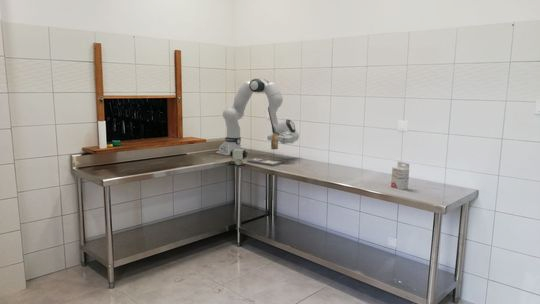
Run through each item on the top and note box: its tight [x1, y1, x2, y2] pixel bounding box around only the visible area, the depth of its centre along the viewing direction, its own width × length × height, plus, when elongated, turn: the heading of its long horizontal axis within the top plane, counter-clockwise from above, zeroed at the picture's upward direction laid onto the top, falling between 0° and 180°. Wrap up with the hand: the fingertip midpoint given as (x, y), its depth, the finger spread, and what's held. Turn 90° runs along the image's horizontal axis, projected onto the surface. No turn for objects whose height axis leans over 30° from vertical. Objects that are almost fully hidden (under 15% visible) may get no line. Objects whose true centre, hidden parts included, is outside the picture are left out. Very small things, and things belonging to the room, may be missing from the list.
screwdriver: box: [270, 127, 279, 150], centre depth 302 cm, size 5×5×16 cm
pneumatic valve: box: [229, 148, 248, 166], centre depth 297 cm, size 6×12×12 cm, turn 74°
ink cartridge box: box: [390, 161, 410, 191], centre depth 236 cm, size 9×5×15 cm, turn 35°
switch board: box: [246, 157, 284, 167], centre depth 306 cm, size 24×13×2 cm, turn 53°
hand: (273, 139), depth 302 cm, fingers closed on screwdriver, 5 cm apart
